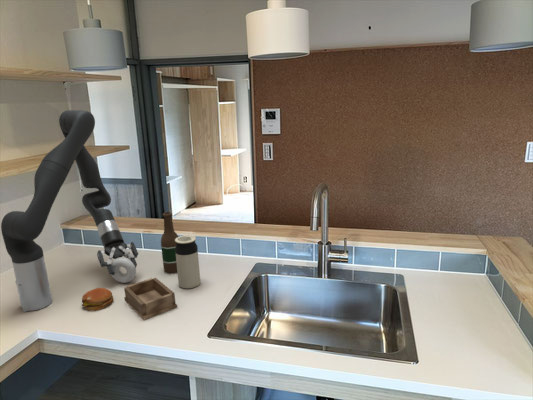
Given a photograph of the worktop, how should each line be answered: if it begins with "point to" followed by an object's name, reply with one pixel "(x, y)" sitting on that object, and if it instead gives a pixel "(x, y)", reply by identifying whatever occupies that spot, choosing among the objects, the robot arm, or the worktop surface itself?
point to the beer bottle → (169, 245)
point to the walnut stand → (150, 298)
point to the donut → (127, 265)
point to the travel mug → (187, 261)
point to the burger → (97, 299)
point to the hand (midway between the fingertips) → (124, 271)
